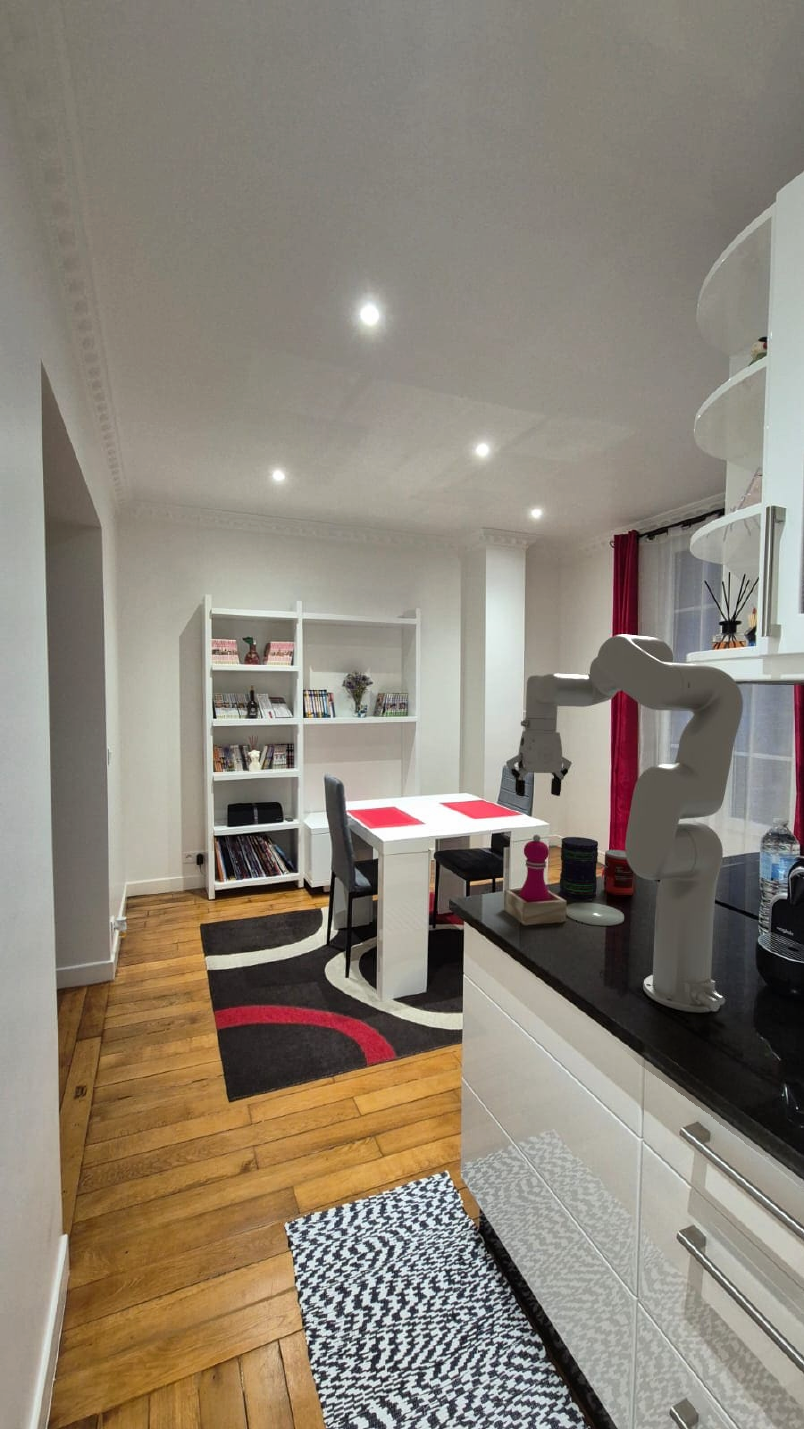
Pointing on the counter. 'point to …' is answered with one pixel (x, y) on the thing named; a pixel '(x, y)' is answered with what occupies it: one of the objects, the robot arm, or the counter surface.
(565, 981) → the counter surface
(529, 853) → the pepper mill
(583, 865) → the storage jar
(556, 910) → the box
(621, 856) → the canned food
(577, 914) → the coaster
